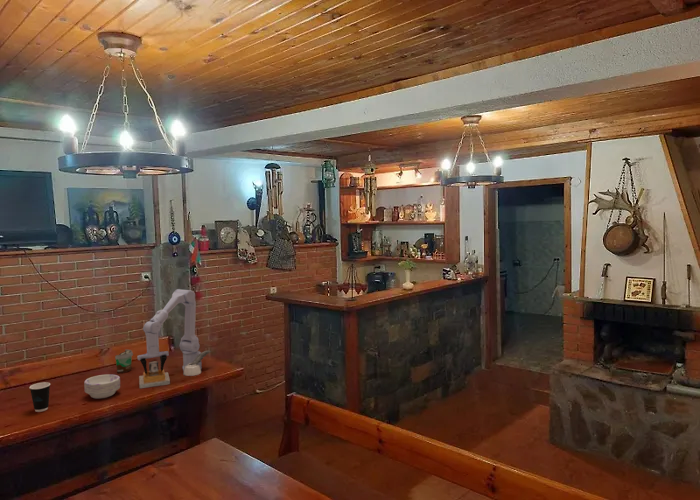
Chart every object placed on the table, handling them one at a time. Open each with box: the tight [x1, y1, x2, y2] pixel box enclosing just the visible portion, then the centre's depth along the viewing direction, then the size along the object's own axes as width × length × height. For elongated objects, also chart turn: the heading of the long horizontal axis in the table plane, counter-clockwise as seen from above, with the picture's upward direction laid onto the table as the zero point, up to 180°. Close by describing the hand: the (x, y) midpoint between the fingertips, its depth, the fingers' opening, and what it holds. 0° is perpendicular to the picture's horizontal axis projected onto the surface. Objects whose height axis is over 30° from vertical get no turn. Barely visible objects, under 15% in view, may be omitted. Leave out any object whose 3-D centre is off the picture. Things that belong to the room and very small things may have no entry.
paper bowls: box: [83, 373, 121, 399], centre depth 239 cm, size 15×15×8 cm
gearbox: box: [138, 368, 171, 389], centre depth 257 cm, size 14×14×4 cm
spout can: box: [148, 360, 160, 376], centre depth 255 cm, size 4×7×8 cm
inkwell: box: [182, 350, 212, 377], centre depth 273 cm, size 9×18×10 cm, turn 149°
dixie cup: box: [29, 381, 51, 413], centre depth 222 cm, size 8×8×11 cm
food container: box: [114, 348, 134, 374], centre depth 276 cm, size 12×6×10 cm, turn 179°
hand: (153, 371), depth 256 cm, fingers open, 7 cm apart
